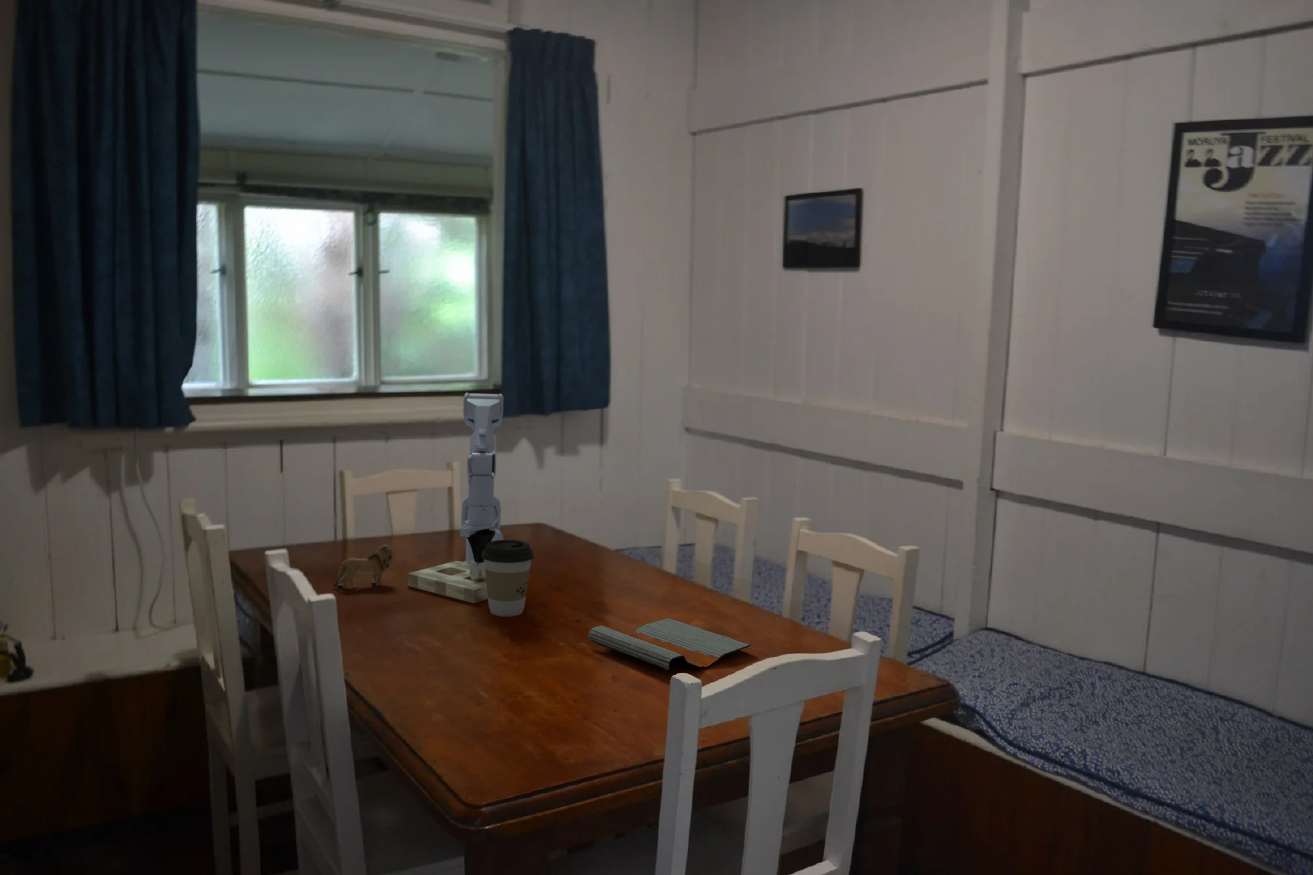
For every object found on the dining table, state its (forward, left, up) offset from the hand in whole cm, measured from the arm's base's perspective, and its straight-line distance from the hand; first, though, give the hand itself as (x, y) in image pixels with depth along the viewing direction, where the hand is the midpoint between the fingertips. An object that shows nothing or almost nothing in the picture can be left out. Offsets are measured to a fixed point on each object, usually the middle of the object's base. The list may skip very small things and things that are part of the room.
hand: (479, 561), depth 233 cm
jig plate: (0, -5, -7) cm, 8 cm away
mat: (+6, +56, -8) cm, 57 cm away
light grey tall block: (0, 0, -7) cm, 7 cm away
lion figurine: (+13, -23, -7) cm, 28 cm away
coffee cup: (+8, +15, -7) cm, 19 cm away
